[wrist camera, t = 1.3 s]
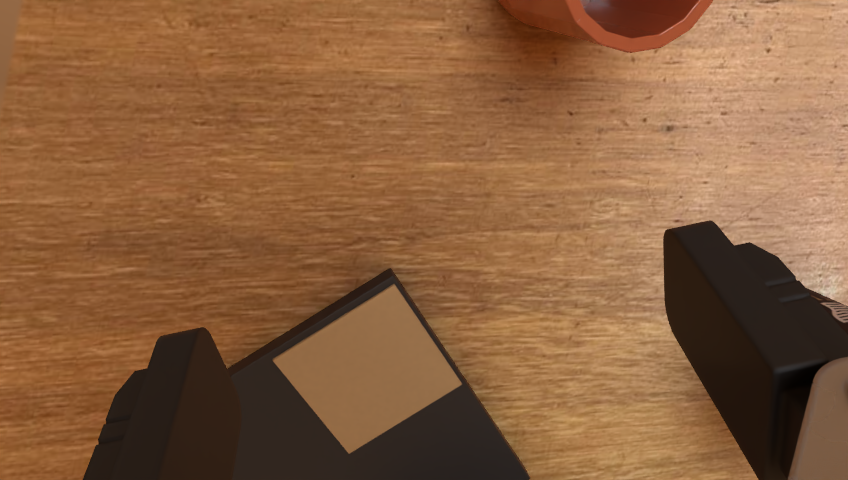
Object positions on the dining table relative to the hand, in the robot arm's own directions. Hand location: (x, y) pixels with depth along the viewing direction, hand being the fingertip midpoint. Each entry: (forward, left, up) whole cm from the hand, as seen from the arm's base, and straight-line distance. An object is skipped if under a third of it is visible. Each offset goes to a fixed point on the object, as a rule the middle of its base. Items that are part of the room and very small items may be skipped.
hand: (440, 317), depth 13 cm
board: (+17, -9, -23) cm, 30 cm away
